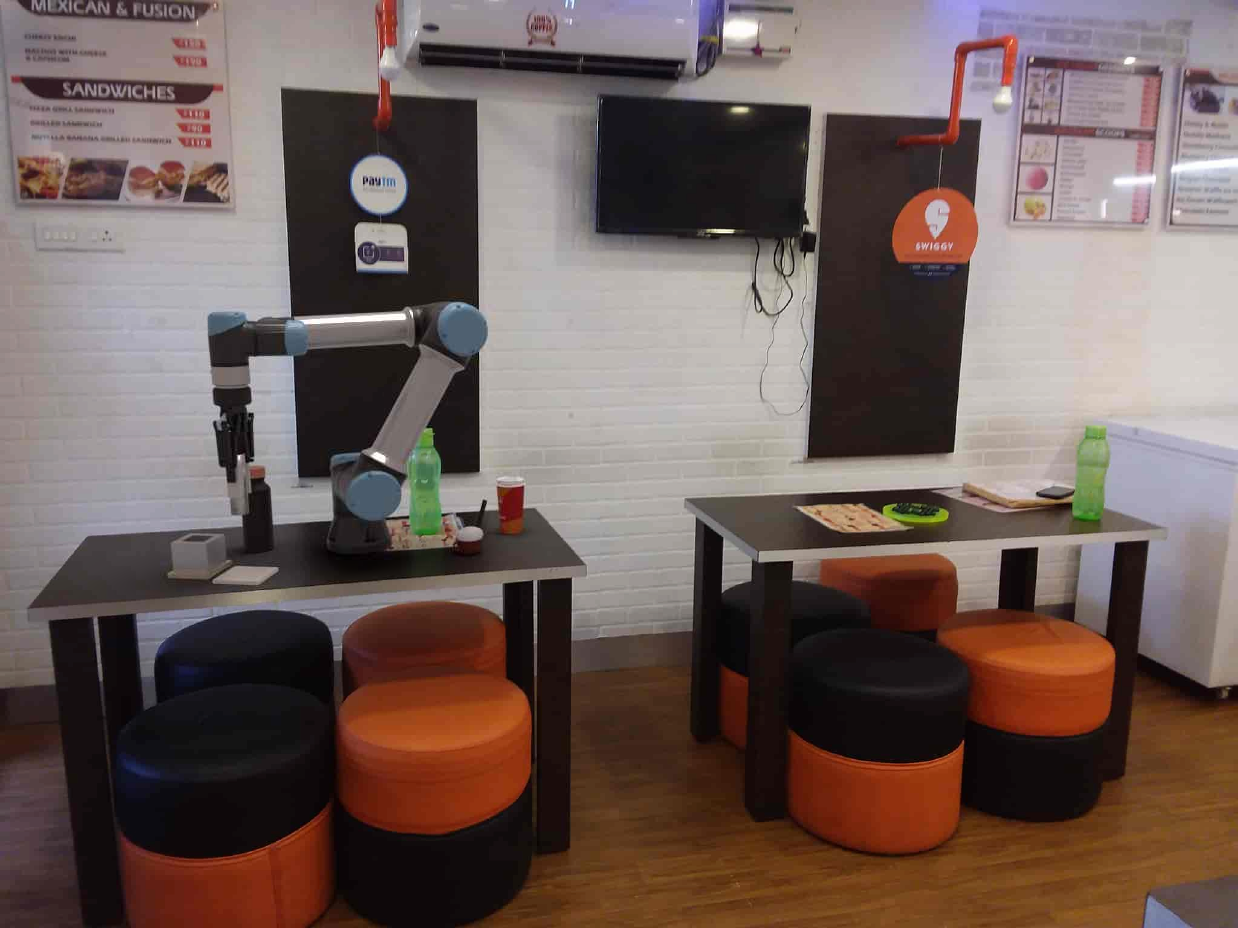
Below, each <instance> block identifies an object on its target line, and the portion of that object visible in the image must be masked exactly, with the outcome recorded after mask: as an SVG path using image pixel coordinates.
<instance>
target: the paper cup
mask: <svg viewBox="0 0 1238 928" xmlns="http://www.w3.org/2000/svg"><path fill="white" fill-rule="evenodd" d="M526 484H527V483H526V482H525V479H524V478H523V477H521V476H517V477H516V476H502V477H501V476H500V477H497V480H496V482H495V486H496V493H497V494H496V496H497V506H498V507H497V508H498V521H499V530H500V533H501V534H503V535H508V536H509V535H510V536H511V535H518V534H521V533H522V531H523V525H524V519H523V518H524V500H525V485H526Z"/></svg>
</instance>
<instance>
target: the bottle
mask: <svg viewBox="0 0 1238 928" xmlns="http://www.w3.org/2000/svg"><path fill="white" fill-rule="evenodd" d="M249 467H250V480H251V493H248V505H249V513H248V514H245V515H241V520H242V521H241V522H242V523H241V525H242V534H243V535H242V536H243V549H244V551H245V552H248V553H265V552H269V551H271V550H273V549H274V548H275V537H274V536H275V535H274V520H273V505H272V504H273V503H272V490H271V486H270V485H269V484H267V482H266V481H265V479H266V467H265V466H264V465H249Z"/></svg>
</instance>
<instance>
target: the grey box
mask: <svg viewBox="0 0 1238 928" xmlns="http://www.w3.org/2000/svg"><path fill="white" fill-rule="evenodd" d="M225 536H226V535H225V534H224V533H196V532H195V533H194V532H189V533H188V534H186V535H183V536H181V537H180V538H178V539H176V540H174V541H172V542H170V547H171V548H170V549H171V558H172V559H171V560H172V561H171V563H172V570H171V571H169V572H167V573H166V575H167V579H180V580H181V579H184V580H205V581H206V580H209V579H211V578H213V577H214V576H215V575H218V574H219V573H220V572H221V573H222V571H224V570H225V569H228V567H230V566H232V565H233V560H232V559H227V552H226V549H227V548H226V539H225V538H226V537H225Z"/></svg>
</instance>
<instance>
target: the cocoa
mask: <svg viewBox="0 0 1238 928" xmlns="http://www.w3.org/2000/svg"><path fill="white" fill-rule="evenodd" d="M487 503H488V499H487V500H486V499H482V501H481V505H480V509H479V512H478V517H477V520H476V523H475V526H466V527H463V528H462V529H459V530H458V531H456V534H455V541H454V542H453V544H452V547H453V549H454V551H456V552H458V553H460V554H463V555H468V556H469V555H475V554H477V553H478V552H480V551H481V549H482V546H483V539H484V538H483V536H484V532H483V529H481V527H482V523H483V518H484V515H485V511H486V508H487Z"/></svg>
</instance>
